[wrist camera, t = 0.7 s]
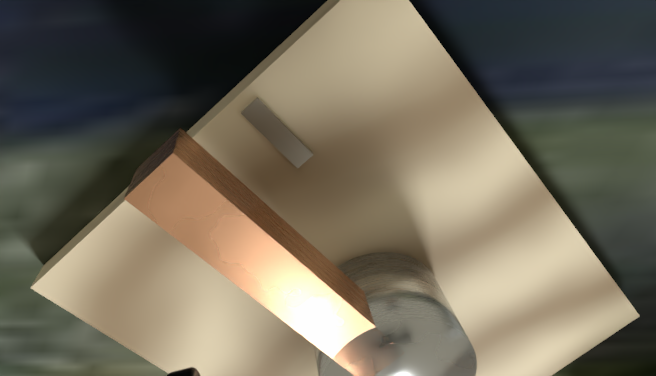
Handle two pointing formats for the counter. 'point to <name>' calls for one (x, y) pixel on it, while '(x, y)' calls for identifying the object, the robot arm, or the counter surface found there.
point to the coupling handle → (304, 272)
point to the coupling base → (354, 211)
